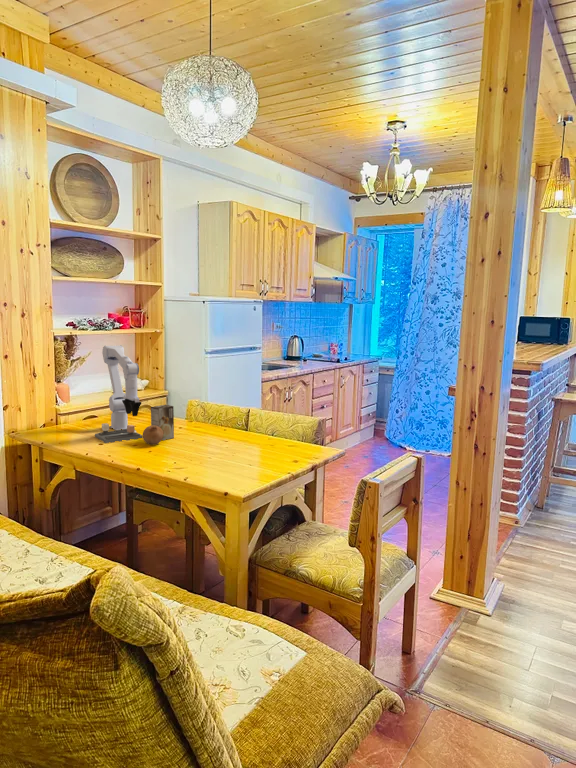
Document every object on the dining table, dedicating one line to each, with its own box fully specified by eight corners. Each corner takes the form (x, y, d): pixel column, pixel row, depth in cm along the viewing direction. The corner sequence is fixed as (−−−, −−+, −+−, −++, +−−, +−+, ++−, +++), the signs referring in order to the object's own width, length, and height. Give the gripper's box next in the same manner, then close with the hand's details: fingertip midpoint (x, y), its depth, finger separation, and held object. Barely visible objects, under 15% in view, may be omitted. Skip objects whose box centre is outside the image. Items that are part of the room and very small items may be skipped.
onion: (156, 452, 248) (157, 435, 242) (138, 445, 249) (139, 428, 244) (166, 440, 256) (167, 424, 250) (148, 434, 257) (149, 417, 252)
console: (94, 436, 261) (94, 431, 261) (130, 432, 272) (130, 427, 272) (105, 443, 249) (105, 437, 249) (142, 438, 260) (142, 432, 260)
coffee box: (165, 436, 266) (165, 404, 264) (174, 438, 262) (174, 405, 260) (150, 439, 259) (150, 406, 257) (159, 441, 255) (159, 408, 253)
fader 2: (127, 435, 259) (127, 425, 258) (132, 434, 260) (131, 424, 260) (129, 436, 256) (129, 426, 256) (134, 435, 258) (134, 426, 257)
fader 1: (101, 433, 261) (101, 423, 260) (106, 433, 262) (106, 423, 262) (104, 434, 258) (103, 425, 258) (109, 434, 260) (108, 424, 259)
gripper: (117, 386, 268) (118, 413, 269) (129, 390, 257) (129, 417, 258) (131, 385, 272) (132, 412, 274) (143, 389, 261) (143, 416, 263)
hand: (131, 414), depth 266 cm, fingers open, 7 cm apart
